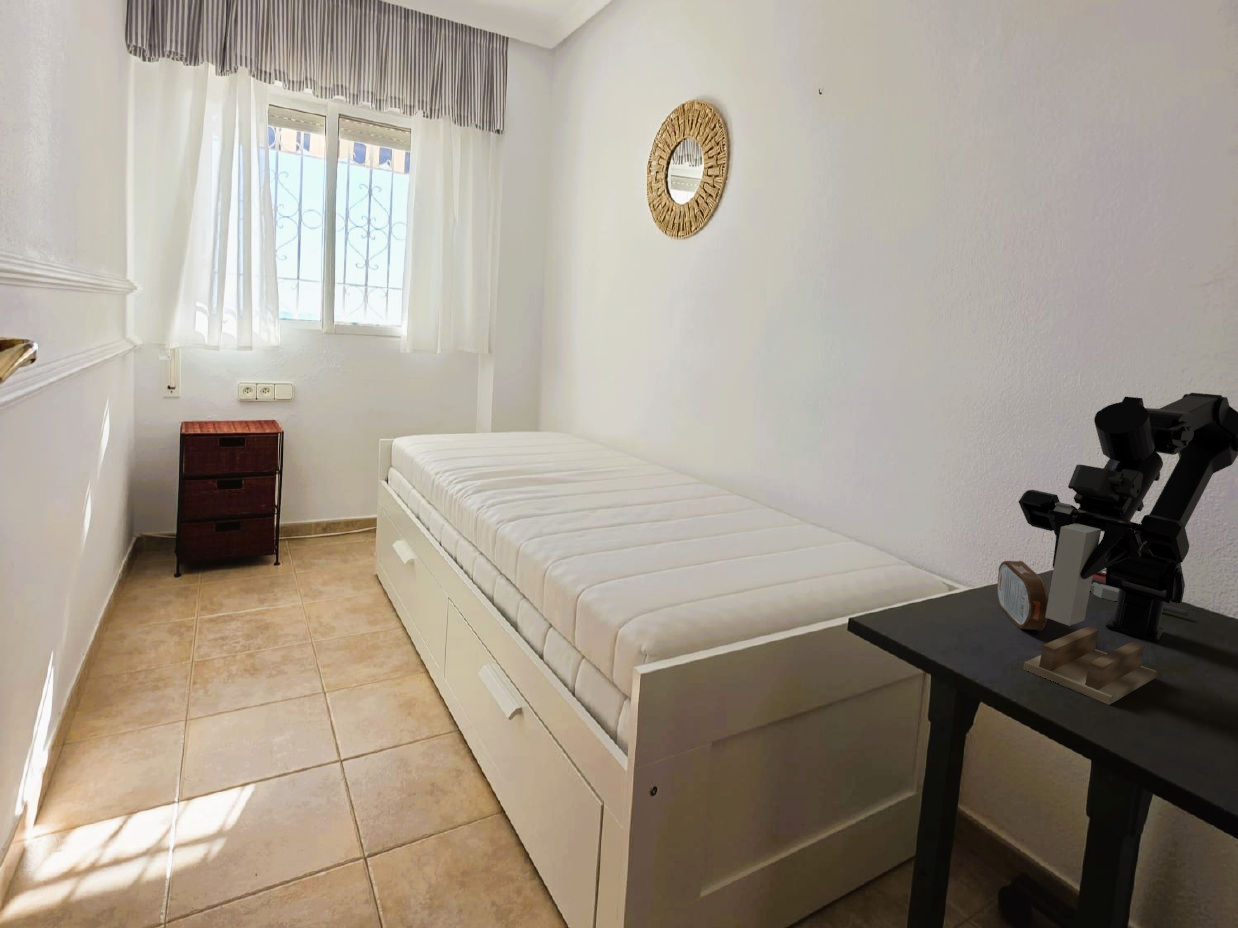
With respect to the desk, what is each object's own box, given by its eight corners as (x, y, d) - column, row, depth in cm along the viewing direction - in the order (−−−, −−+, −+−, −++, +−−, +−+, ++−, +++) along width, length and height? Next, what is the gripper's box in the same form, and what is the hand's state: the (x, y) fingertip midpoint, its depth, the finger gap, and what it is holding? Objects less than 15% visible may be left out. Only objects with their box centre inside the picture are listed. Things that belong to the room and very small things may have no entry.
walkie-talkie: (1047, 585, 127) (1185, 623, 112) (1051, 562, 126) (1191, 597, 111) (1063, 576, 132) (1195, 611, 118) (1067, 554, 132) (1201, 587, 117)
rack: (1071, 647, 99) (1076, 621, 98) (1154, 677, 91) (1160, 649, 90) (1023, 669, 91) (1028, 640, 90) (1109, 704, 83) (1115, 673, 82)
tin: (1045, 640, 101) (1055, 585, 99) (1022, 637, 102) (1031, 582, 100) (1010, 603, 116) (1018, 554, 114) (990, 600, 116) (998, 552, 115)
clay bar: (1060, 611, 94) (1076, 523, 92) (1084, 619, 92) (1101, 529, 89) (1045, 617, 92) (1061, 526, 90) (1069, 625, 89) (1086, 533, 87)
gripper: (1036, 433, 97) (980, 517, 93) (1199, 456, 82) (1140, 558, 78) (1055, 483, 103) (1003, 564, 99) (1211, 514, 87) (1156, 611, 84)
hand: (1068, 572), depth 90 cm, fingers closed on clay bar, 3 cm apart
